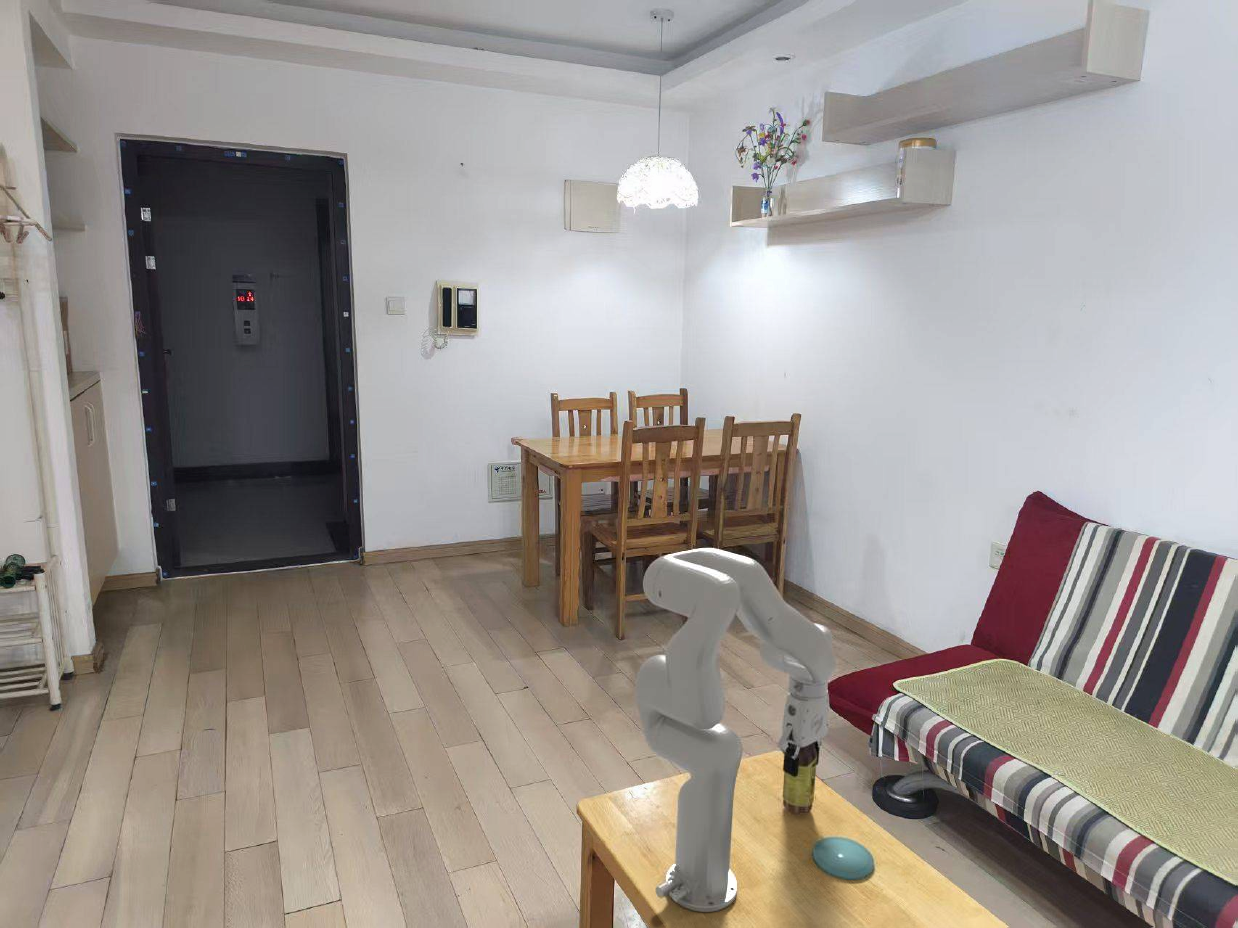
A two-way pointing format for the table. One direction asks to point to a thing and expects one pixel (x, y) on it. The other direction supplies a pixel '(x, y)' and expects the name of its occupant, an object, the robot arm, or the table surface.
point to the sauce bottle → (801, 782)
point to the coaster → (843, 858)
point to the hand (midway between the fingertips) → (800, 767)
